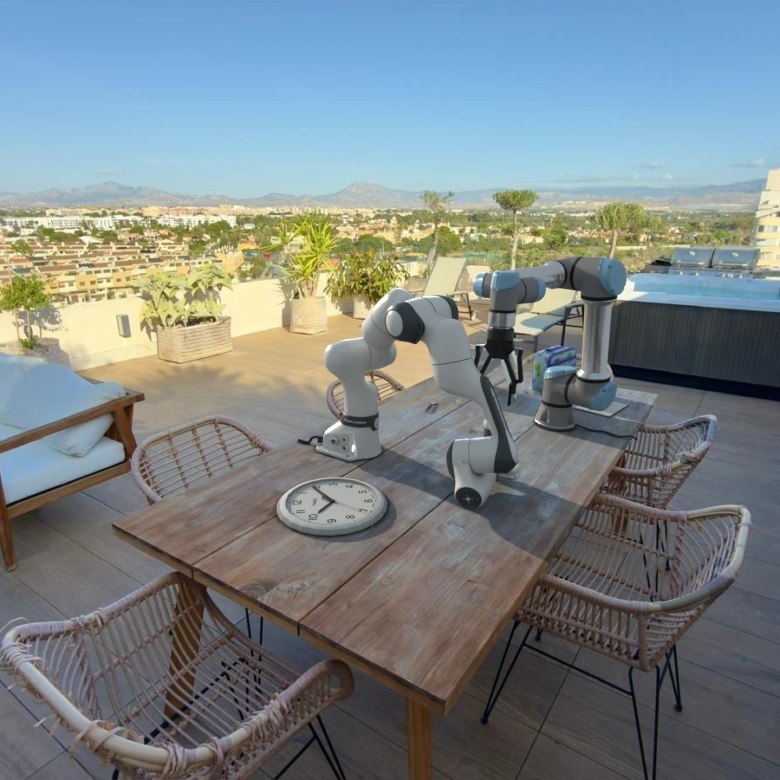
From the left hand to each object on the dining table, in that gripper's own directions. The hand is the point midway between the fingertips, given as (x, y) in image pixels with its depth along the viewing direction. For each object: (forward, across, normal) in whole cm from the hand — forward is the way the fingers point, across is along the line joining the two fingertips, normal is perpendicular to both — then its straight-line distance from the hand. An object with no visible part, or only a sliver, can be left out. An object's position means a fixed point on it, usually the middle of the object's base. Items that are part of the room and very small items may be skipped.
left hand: (491, 455), depth 161 cm
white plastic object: (+82, +22, +6) cm, 85 cm away
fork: (+53, +36, +6) cm, 64 cm away
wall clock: (-37, +36, +6) cm, 52 cm away
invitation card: (+84, -31, +6) cm, 90 cm away
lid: (-1, 0, -11) cm, 11 cm away
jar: (-1, 0, +6) cm, 6 cm away
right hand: (-1, 0, -17) cm, 17 cm away
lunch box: (+99, -9, +6) cm, 100 cm away
